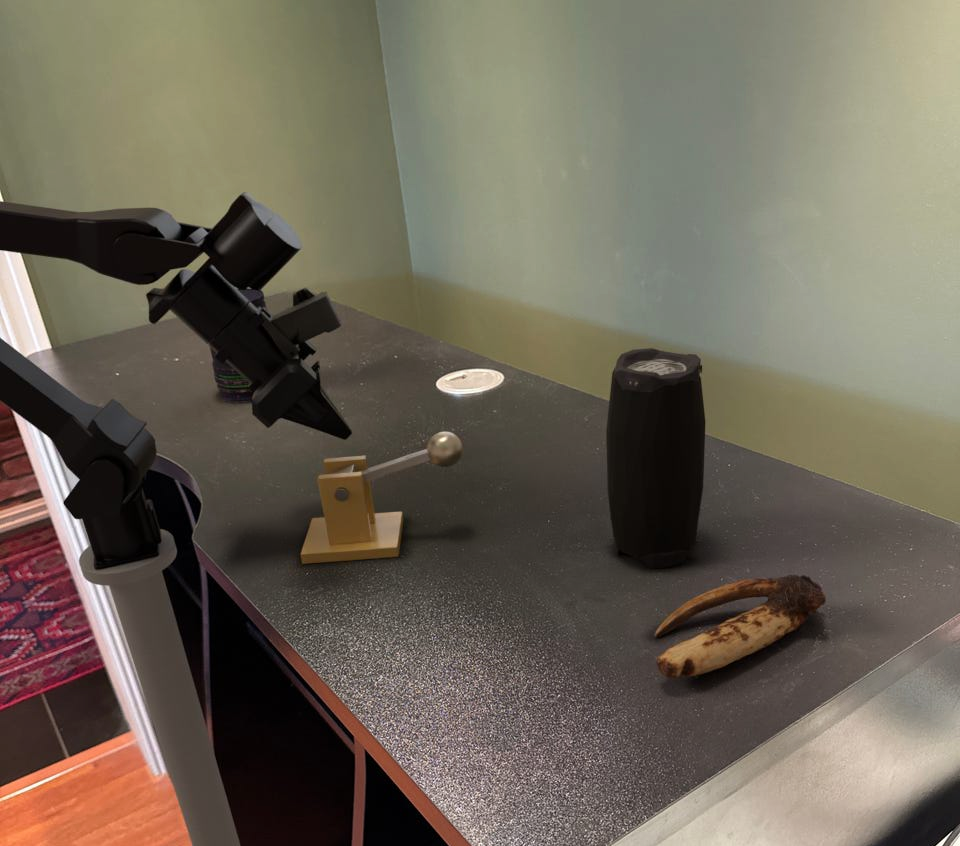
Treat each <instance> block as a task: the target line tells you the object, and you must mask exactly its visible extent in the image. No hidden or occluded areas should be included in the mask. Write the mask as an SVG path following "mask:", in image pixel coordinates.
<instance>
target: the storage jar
mask: <svg viewBox="0 0 960 846" xmlns="http://www.w3.org/2000/svg"><path fill="white" fill-rule="evenodd" d="M236 289H237V290H238V291H239V292H241V293H242V294H243V295H244V296H245V297H246V298H247V299H248V300H249V302H251V303H252V304H253V305H254V306H255V307H256V308H258V307H261V308H263V307H265V308H266V309H267V310H268V308H267V305H266V301H265V294H264V291H263V290H262V289H261V290H254V289H251V288H247V289H246V290H240V289H238V288H236ZM209 349H210V354H211V357H212V362H211V363H212V364H211V365H212V369H213V372H214V373H213V377H214V381H215V383H216V387H217V389H218V391H219V392H218V396H219V399H220V400H221V401H223V402H226V403H232V404H243V403H244V404H245V403H252V397H253V394H254V393H253V392H252V391H251V390H250V389H249V388H248V385H249V382H248V381H247V380H246V379H245V378H243V377H242V376H241V375H240V374H239V373H238V372H237V371H236V370H235V369H234V368H233V367H231V366H230V365H229V364H228V363H227V362H226V361H225V362H224V363H223V364H222V363H221V362H219V361H218V360H217V359H216V358H215V357H214V356H215V354H216V352H215V351H214V350H213V349H212V348H211V347H210V346H209Z"/></svg>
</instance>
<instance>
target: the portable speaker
mask: <svg viewBox="0 0 960 846" xmlns="http://www.w3.org/2000/svg"><path fill="white" fill-rule="evenodd" d="M701 360H702V359H701V357H699V356H698V355H697V354H696V353H694V354H693V353H687V354H684V353H677V352H670V351H665V350H659V349H656V348H654V347H649V348H647V347H646V348H637V349H636V348H635V349H631V350H628V351H626V352H624V353H621V354H620V356H619V357H618V358H617V359H616V363H615V366H614V368H613V371H612V372H611V374H612V375H611V380H610V381H611V382H610V391H609V400H608V411H607V420H606V421H607V422H606V428H605V429H606V430H605V432H606V433H605V435H606V439H605V440H606V441H605V442H606V477H607V478H606V480H607V483H606V484H607V498H608V505H609V513H610V521H611V529H612V537H613V539H614V549H615V552H616V554H617V555H619V554H623V553H624V554H626V555H629V556H631V557H633V558H635V559H637V560H639V561H641V562H642V563H643V564H645V566H647V567H648V568H649V569H652V570H653V569H664V568H670V567H674V566H676V565H679V564H682V563H684V562H685V560H686V558H687V556H688V554H689V552H690V551H691V550H692V548H693V546H694V545H695V544H696V539H697V534H698V533H697V532H698V526H699V518H700V514H701V511H702V509H701V505H702V498H703V491H704V481H705V480H704V478H705V475H704V474H705V472H704V471H705V452H706V451H705V447H706V446H705V445H706V416H705V415H706V413H705V403H704V395H703V394H704V393H703V385H702V377H701V376H700V375H701V374H702V373H703V364H701Z"/></svg>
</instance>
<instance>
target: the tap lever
mask: <svg viewBox="0 0 960 846" xmlns="http://www.w3.org/2000/svg"><path fill="white" fill-rule="evenodd" d="M462 455H463V443H462V441H461V439H460V438H459V437H458V436H457V435H456V434H455V433H453V432H451V431H439V432H437V433H435V434H434V435H432V436H431V437H430V439H429V440H428V443H427V446H426V448H425V449H422V450H419V451H415V452H412V453H410V454H407V455H404V456H401V457H398V458H395V459H392V460H388V461H386V462H383V463H380V464H377V465H374V466H371V467H368V469H365V470H362V471H359V472H362V475H363V481H364V483H365V482H368V481H370V482H371V481H374V480H377V479H380V478H383V477H386V476H389V475H392V474H395V473H399V472H401V471H404V470H407V469H411V468H413V467H416V466H420V465H422V464H426V463H428V462H432V464H434V465H436V466H437V467H440V468H449V467H453V466H454V465H456V464H457V463H458V462H459V461H460V460H461V458H462ZM351 472H357V470H356V468H355V466H354V464H353V465H350V466H347V467H344V468H341V469H338V470H335V471H332V472H330V473H329V474H338V473H351Z"/></svg>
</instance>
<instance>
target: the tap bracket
mask: <svg viewBox="0 0 960 846" xmlns="http://www.w3.org/2000/svg"><path fill="white" fill-rule="evenodd" d="M322 464H323V470H324V474H318V477H317V484H318V490H319V495H320V500H321V506H322V511H323V516H322V517H321V516H320V517H312V518H311V520H310V523H309V527H308V529H307V533H306V536H305V539H304V542H303V545H302V548H301V552H300V560H301V563H302V564H303V565H307V564H320V563H321V564H322V563H334V562H335V563H336V562H345V561H347V562H348V561H360V560H374V559H389V558H398V557H399V556H400V549H401V542H402V536H403V535H402V534H403V529H404V528H403V527H404V521H405V520H404V514H403V511H401V510H400V511H389V512H388V511H387V512H376V513H375V506H374V499H373V493H372V486H371V481H368V482H365V483H364V481H363V475H362V472H359V471H362V470H365V469H368V468H369V467H368V466H369V465H368V461H367V455H356V456H355V455H354V456H341V457H327V458H324V459H323V461H322ZM353 464H354V466H355V468H356V470H357V472H351V473H338V474H329V473H330V472H332V471H335V470H338V469H341V468H344V467H347V466H350V465H353Z"/></svg>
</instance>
